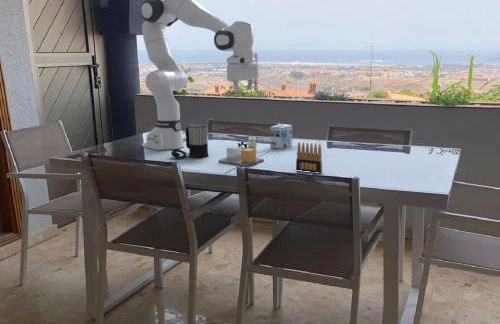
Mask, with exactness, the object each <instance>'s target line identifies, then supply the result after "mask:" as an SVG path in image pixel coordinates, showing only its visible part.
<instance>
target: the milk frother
mask: <svg viewBox="0 0 500 324" xmlns="http://www.w3.org/2000/svg"><path fill="white" fill-rule="evenodd" d="M208 126H209V124H207V123H190V124H188V125H187V127H186V128H185V141H186V142H185V145H186V148H187V149H189V151H188V152H186V151H185V150H181V149H180V148H178V149H171V156H172V157H173V158H175V159H178V160H179V159H185V158H186V157H187V155H188V157H190V158H193V159H203V158H208V157H209V148H208V145H209V144H208V142H209V140H208V135H209V134H208ZM181 154H182V155H181Z"/></svg>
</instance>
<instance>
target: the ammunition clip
mask: <svg viewBox="0 0 500 324" xmlns="http://www.w3.org/2000/svg"><path fill="white" fill-rule="evenodd" d="M309 145H310V146H309ZM296 151H297V152H296V159H295V160H296V162H295V171H296V170H302V171H310V172H319V173H321V172H322V173H323V162H322V160H323V159H322V156H323V155H322V146H321V144H320V143H319V145H318V146H317V143H315V144H314V146H313V143H310V144H309V142H307V143H306V146H305V141H304V142H302V144H301V142H298V143H297V150H296ZM322 173H321V174H322Z"/></svg>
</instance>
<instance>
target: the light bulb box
mask: <svg viewBox="0 0 500 324" xmlns="http://www.w3.org/2000/svg"><path fill="white" fill-rule="evenodd" d="M269 129H270V130H269V131H270V132H269V133H270V137H269V138H270V141H269V143H270V145H269V146H270V148H274V149H278V150H280V149H285V148H289V147H292V146H293V125H292V124H285V123H280V124H276V125H272V126H270V128H269Z"/></svg>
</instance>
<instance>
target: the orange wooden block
mask: <svg viewBox="0 0 500 324" xmlns="http://www.w3.org/2000/svg"><path fill="white" fill-rule="evenodd" d="M241 151H242V155H241V156H242V161H244V162H253V161H256V158H257V148H256V149H250V148H246V149H243V150H241Z"/></svg>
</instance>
